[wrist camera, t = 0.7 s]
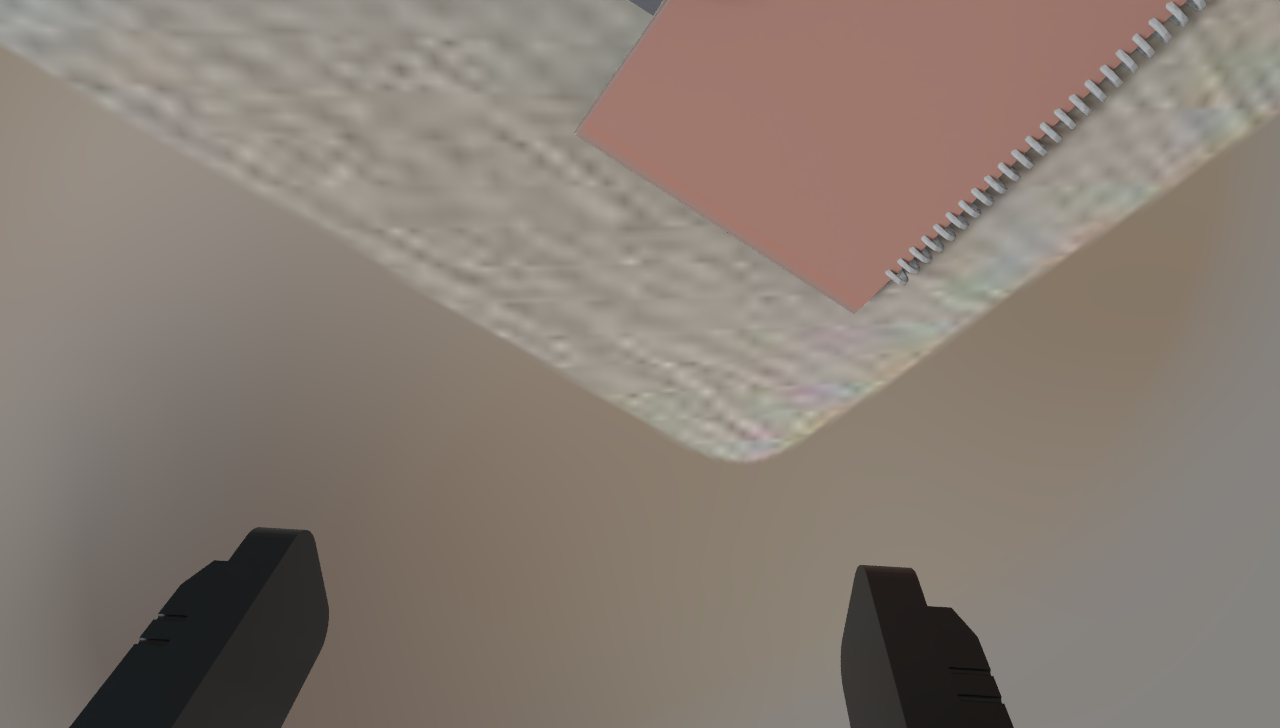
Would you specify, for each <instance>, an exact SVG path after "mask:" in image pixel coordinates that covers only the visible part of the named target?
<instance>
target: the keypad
mask: <svg viewBox="0 0 1280 728" xmlns="http://www.w3.org/2000/svg"><path fill="white" fill-rule="evenodd" d="M630 1H631V2H633V3H634V4H636V5H638V6H639V7H641V8H642V9H644V10H645V11H647V12H649V13H650V14H652V15H654V13H655V12H656V10H657V8H658V7H659V5H660V3H661V2H662V0H630Z"/></svg>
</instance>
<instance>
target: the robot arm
mask: <svg viewBox="0 0 1280 728" xmlns="http://www.w3.org/2000/svg"><path fill="white" fill-rule="evenodd" d="M328 621H329V607H328V601H327V597H326V591H325V587H324V582H323V577H322V572H321V567H320V562H319V558H318V553H317V548H316V543H315V539H314V537H313V535H312V533H311V532H310V531H308V530H297V529H296V530H295V529H280V528H262V527H258V528H255V529H253V530H252V531H251V532H250V533H249V534H248V535H247V536H246V538H245V539H244V540H243V542H242V543H241V544H240V546H239V547H238V548H237V550H236V551H235V552H234V554H233V555H232V557H231V558H230V559H229V561H216V560H214V561H213V562H211V563H210V564H209V565H207V566H206V567H205V568H203V569H202V570H201V571H199V572H198V573H196V574H195V575H194V576H192V577H191V578H190V579H188V580H187V581H185V582H184V583H182V584H181V585H180V587H179V588H178V589H177V590H176V592H175V593H174V594H173V596H172V597H171V598H170V599H169V601H168V602H167V603H166V604H165V606H164V607H163V608H162V609H161V611H160V612H159V613H158V619H157V620H153V621H152V622H151V624H150V625H149V626H148V628H147V629H146V630H145V631H144V633H143V634H142V635H141V637H140V641H139V643H138V644H134V645H133V647H132V648H131V649H130V650H129V652H128V653H127V654H126V656H125V657H124V658H123V660H122V661H121V662H120V663H119V665H118V666H117V667H116V669H115V670H114V671H113V672H112V674H111V675H110V676H109V678H108V679H107V680H106V681H105V683H104V684H103V685H102V687H101V688H100V689H99V690H98V692H97V693H96V694H95V695H94V697H93V698H92V699H91V701H90V702H89V703H88V704H87V706H86V707H85V708H84V709H83V711H82V712H81V713H80V715H79V716H78V717H77V718H76V720H75V721H74V722H73V724H72V725H71V726H70V727H69V728H281V726H282V725H283V723H284V721H285V719H286V717H287V715H288V713H289V711H290V709H291V707H292V705H293V703H294V701H295V699H296V698H297V696H298V693H299V692H300V690H301V688H302V686H303V684H304V682H305V680H306V678H307V676H308V674H309V672H310V670H311V668H312V667H313V665H314V663H315V661H316V659H317V657H318V655H319V653H320V651H321V649H322V646H323V644H324V641H325V637H326V633H327V627H328ZM841 676H842V685H843V690H844V695H845V700H846V705H847V711H848V716H849V721H850V726H851V728H1014V727H1013V725H1012V722H1011V720H1010V717H1009V715H1008V712H1007V710H1006V707H1005V705H1004V704H1002V702H1001V694H1000V692H999V690H998V687H997V685H996V682H995V680H994V677H993V676H991V674H990V667H989V664H988V662H987V660H986V657H985V654H984V652H983V649H982V647H981V644H980V642H979V639H978V637H977V636H976V635H975V633H974V632H973V631H972V630H971V629H970V628H969V627H968V626H967V625H966V623H965V622H964V621H963V620H962V619H961V618H960V617H959V616H958V615H957V613H956V612H955V611H954V610H953V609H952V608H947V607H931V606H927V604H926V601H925V598H924V595H923V592H922V589H921V586H920V583H919V580H918V577H917V575H916V573H915V571H914V570H913V569H912V568H902V567H885V566H869V565H868V566H867V565H859V566H858V568H857V570H856V573H855V578H854V583H853V588H852V593H851V598H850V603H849V608H848V613H847V618H846V623H845V628H844V633H843V638H842V646H841Z"/></svg>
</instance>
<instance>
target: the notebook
mask: <svg viewBox="0 0 1280 728" xmlns="http://www.w3.org/2000/svg"><path fill="white" fill-rule="evenodd" d="M1184 3H1185V4H1187V5H1188V6H1190V7H1192V8H1193V9H1195V10H1196V11H1203V9H1204V8H1205V6H1206V5H1207V4H1206V2H1205V0H666V1H665V2H664V4H663V5H662V7H661V8H660V10H659V11H658V13H657V14H656V15H655V17H654V18H653V20H652V21H651V23H650V24H649V26H648V27H647V28H646V30H645V31H644V33H643V34H642V36H641V37H640V39H639V40H638V41H637V43H636V44H635V46H634V47H633V49H632V50H631V52H630V53H629V54H628V56H627V57H626V59H625V60H624V62H623V63H622V65H621V66H620V67H619V69H618V70H617V72H616V73H615V75H614V76H613V77H612V79H611V80H610V82H609V83H608V85H607V86H606V88H605V89H604V90H603V92H602V93H601V95H600V96H599V98H598V99H597V101H596V102H595V103H594V105H593V106H592V108H591V109H590V111H589V112H588V114H587V115H586V116H585V118H584V119H583V121H582V122H581V124H580V125H579V127H578V128H577V129H576V131H575V135H577V136H578V137H580V138H581V139H583V140H584V141H586V142H587V143H589V144H591V145H592V146H594V147H595V148H597V149H598V150H600V151H601V152H603V153H605V154H606V155H608V156H609V157H611V158H612V159H614V160H615V161H617V162H619V163H620V164H622V165H623V166H625V167H626V168H628V169H629V170H631V171H633V172H634V173H636V174H637V175H639V176H640V177H642V178H643V179H645V180H647V181H648V182H650V183H651V184H653V185H654V186H656V187H657V188H659V189H661V190H662V191H664V192H665V193H667V194H668V195H670V196H671V197H673V198H675V199H676V200H678V201H679V202H681V203H682V204H684V205H685V206H687V207H689V208H690V209H692V210H693V211H695V212H696V213H698V214H699V215H701V216H702V217H704V218H706V219H707V220H709V221H710V222H712V223H713V224H715V225H716V226H718V227H720V228H721V229H723V230H724V231H726V232H727V233H729V234H730V235H732V236H734V237H735V238H737V239H738V240H740V241H741V242H743V243H744V244H746V245H748V246H749V247H751V248H752V249H754V250H755V251H757V252H758V253H760V254H762V255H763V256H765V257H766V258H768V259H769V260H771V261H772V262H774V263H776V264H777V265H779V266H780V267H782V268H783V269H785V270H786V271H788V272H790V273H791V274H793V275H794V276H796V277H797V278H799V279H800V280H802V281H804V282H805V283H807V284H808V285H810V286H811V287H813V288H814V289H816V290H818V291H819V292H821V293H822V294H824V295H825V296H827V297H828V298H830V299H832V300H833V301H835V302H836V303H838V304H839V305H841V306H842V307H844V308H845V309H847V310H849V311H850V312H852V313H853V314H855V313H856V312H857V311H858V310H859V309H860V308H861V307H862V306H863V305H864V304H865V303H866V302H867V301H868V300H869V299H870V298H872V297H873V296H874V295H875V294H876V293H877V292H878V291H879V290H880V289H881V288H882V287H883V286H884V285H885V284H886V283H887V282H889V281H890V280H891V279H892V280H894V281H895V282H896V283H897V284H900V285H906V284H907V282H908V277H907V275H906V274H905V272H904V270H903V269H902V268H904V269H905V270H907V271H908V272H909V273H912V274H918V272H919V271H920V267H919V265H918V263H917V262H916V261H915V259H914V257H917V258H918V259H919V260H920V261H922V262H925V263H930V261H931V260H932V256H931V254H930V252H929V251H928V250H927V248H926V246H929V247H930V248H931V249H933V250H934V251H937V252H942V250H943V249H944V246H943V243H942V241H941V240H940V239H939V238H938V237H937V235H939V234H940V235H941V236H943V237H944V238H945V239H947V240H950V241H954V239H955V238H956V234H955V232H954V230H953V229H952V228H951V227H950V226H949V224H950V223H951V222H952V223H953V224H955V225H956V226H957V227H958V228H961V229H966V228H967V227H968V225H969V224H968V222H967V220H966V219H965V218H964V216H963V215H962V214H961V213H962V212H963V211H964V210H965V211H966V212H967V213H968V214H970V215H971V216H973V217H975V218H978V217H979V216H980V215H981V211H980V210H979V208H978V207H977V206H976V205H975V203H974V201H975V200H976V199H977V198H978V199H979V200H980V201H981V202H983V203H984V204H986V205H988V206H991V205H992V204H993V203H994V200H993V198H992V196H991V195H990V194H989V193H988V192H987V191H986V189H987V188H989V187H990V186H992V187H993V188H994V189H995V190H996V191H998V192H999V193H1001V194H1004V193H1005V192H1006V191H1007V188H1006V186H1005V185H1004V183H1003V182H1002V181H1001V180H1000V179H999V177H1000V176H1001V175H1002V174H1003V173H1005V174H1006V175H1007V176H1008V177H1009V178H1010V179H1012V180H1014V181H1015V182H1016V181H1018V180H1019V179H1020V177H1021V176H1020V175H1019V173H1018V172H1017V171H1016V170H1015V169H1014V168H1013V167H1012V165H1013V164H1014V163H1015V162H1016V161H1017V160H1018V161H1019V162H1020V163H1022V164H1023V165H1024V166H1025V167H1027V168H1028V169H1032V167H1033V166H1034V163H1033V161H1032V160H1031V159H1030V158H1029V157H1028V156H1027V155H1026V154H1025V153H1026V152H1027V151H1028V150H1029V149H1030V148H1031V147H1032V148H1034V149H1035V150H1036V151H1037V152H1038V153H1039V154H1041V155H1042V156H1046V154H1047V153H1048V150H1047V149H1046V147H1045V146H1044V145H1043V144H1041V143H1040V142H1039V140H1040V139H1041V138H1042V137H1043V136H1044V135H1045V134H1047V135H1048V136H1049V137H1051V138H1052V139H1053V140H1054V141H1055V142H1057V143H1060V141H1061V140H1062V137H1061V135H1060V134H1059V133H1058V132H1057V131H1055V130H1054V129H1053V128H1052V127H1053V126H1055V125H1056V124H1057V123H1058V122H1059V121H1060V120H1062V121H1063V122H1064V123H1065V124H1066V125H1067V126H1068V127H1069V128H1071V129H1075V127H1076V126H1077V124H1076V123H1075V122H1074V121H1073V120H1072V119H1071V118H1070V117H1069V116H1068V115H1066V114H1067V113H1068V112H1069V111H1070V110H1072V109H1073V108H1074V107H1075V106H1076V107H1077V108H1078V109H1079V110H1081V111H1082V112H1083V113H1084V114H1085V115H1086V116H1089V115H1090V113H1091V112H1092V110H1091V109H1090V108H1089V107H1088V106H1087V105H1086V104H1085V103H1084V102H1083V101H1082V99H1083V98H1084V97H1085V96H1086V95H1087V94H1089V93H1090V92H1091V93H1092V94H1093V95H1094V96H1095V97H1096V98H1097V99H1099V100H1100V101H1101V102H1104V101H1105V99H1106V98H1107V95H1106V94H1105V93H1104V92H1103V91H1102V90H1101V89H1100V88H1099V87H1098V86H1097V85H1098V84H1099V83H1100V82H1101V81H1102V80H1103V79H1105V78H1106V79H1107V80H1108V81H1109V82H1110V83H1112V84H1113V85H1114V86H1115V87H1120V86H1121V84H1122V83H1123V82H1122V80H1121V79H1120V78H1119V77H1118V76H1117V75H1116V74H1115V73H1114V72H1113V70H1114V69H1115V68H1116V67H1117V66H1118V65H1119V64H1120V63H1121V65H1123V66H1124V67H1125V68H1126V69H1128V70H1129V71H1130V72H1132V73H1135V72H1136V71H1137V70H1138V68H1139V67H1138V65H1137V64H1136V63H1135V62H1134V61H1133V60H1132V59H1131V58H1130V57H1129V55H1130V54H1131V53H1132V52H1133V51H1134V50H1135V49H1136V50H1138V51H1139V52H1140V53H1142V54H1143V55H1144V56H1146V57H1148V58H1152V56H1153V55H1154V54H1155V51H1154V49H1153V48H1152V47H1151V46H1150V45H1149V44H1148V43H1147V42H1146V41H1145V40H1146V39H1147V38H1148V37H1149V36H1150V35H1151V34H1152V35H1154V36H1155V37H1157V38H1158V39H1159V40H1161V41H1162V42H1169V40H1170V39H1171V38H1172V36H1171V34H1170V33H1169V32H1168V31H1167V29H1166V28H1165V27H1164V26H1163V25H1162V24H1163V23H1164V22H1165V21H1166V20H1167V19H1169V20H1170V21H1172V22H1173V23H1175V24H1176V25H1178V26H1180V27H1185V26H1186V25H1187V23H1188V22H1189V19H1188V17H1187V16H1186V15H1185V14H1184V13H1183V12H1182V10H1181V9H1180V7H1181V6H1182V5H1183V4H1184ZM944 229H945V230H946V231H945V230H944ZM932 240H933V241H934V242H935V243H934V242H932ZM920 251H922V252H923V254H924V255H925V256H924V255H923V254H921V253H920ZM909 262H910V263H911V265H912V266H913V267H911V266H910V265H908V263H909ZM897 273H898V274H899V275H900V277H901V278H902V279H901V278H899V277H897V276H896V274H897Z"/></svg>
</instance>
